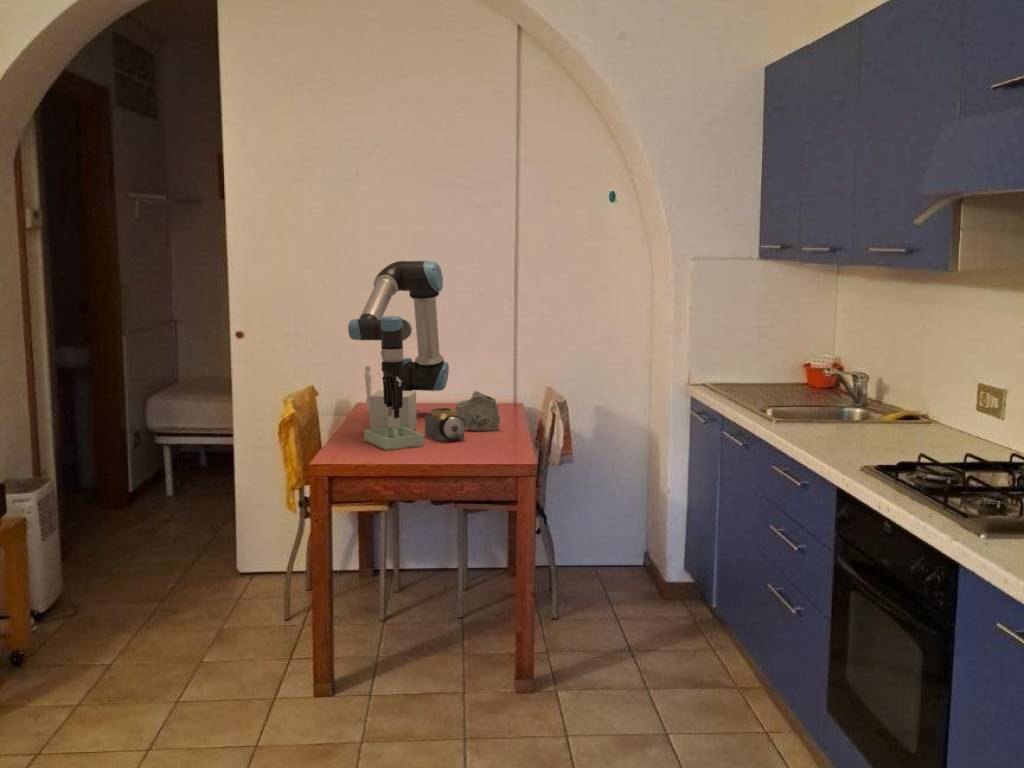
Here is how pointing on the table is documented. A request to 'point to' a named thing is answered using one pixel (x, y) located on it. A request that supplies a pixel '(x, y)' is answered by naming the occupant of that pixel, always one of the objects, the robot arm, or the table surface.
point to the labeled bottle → (392, 431)
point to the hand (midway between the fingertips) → (393, 425)
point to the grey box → (380, 410)
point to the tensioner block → (444, 425)
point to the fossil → (479, 412)
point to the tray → (403, 441)
